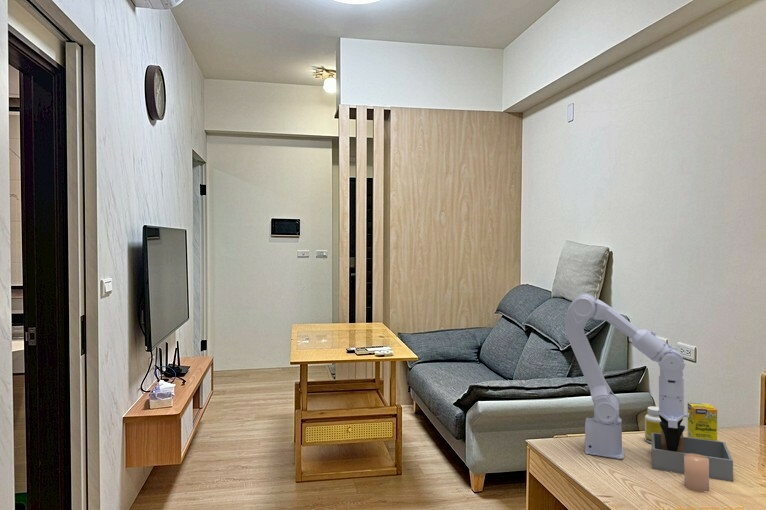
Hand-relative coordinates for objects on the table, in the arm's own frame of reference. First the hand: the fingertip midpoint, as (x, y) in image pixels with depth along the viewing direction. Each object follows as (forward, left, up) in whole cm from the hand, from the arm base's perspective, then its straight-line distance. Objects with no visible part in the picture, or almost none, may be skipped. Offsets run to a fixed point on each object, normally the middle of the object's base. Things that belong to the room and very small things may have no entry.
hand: (671, 446), depth 135 cm
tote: (+4, 0, -4) cm, 6 cm away
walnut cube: (0, 0, -2) cm, 2 cm away
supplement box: (+8, +18, -4) cm, 20 cm away
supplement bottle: (-4, +14, -4) cm, 15 cm away
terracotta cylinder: (+4, -14, -4) cm, 15 cm away
